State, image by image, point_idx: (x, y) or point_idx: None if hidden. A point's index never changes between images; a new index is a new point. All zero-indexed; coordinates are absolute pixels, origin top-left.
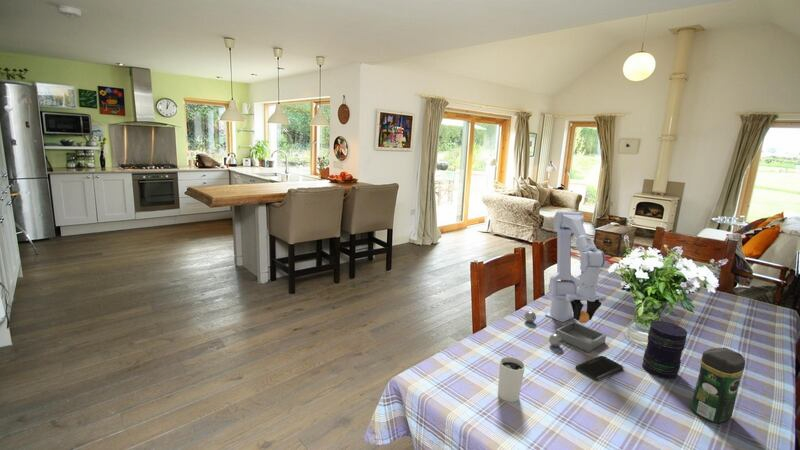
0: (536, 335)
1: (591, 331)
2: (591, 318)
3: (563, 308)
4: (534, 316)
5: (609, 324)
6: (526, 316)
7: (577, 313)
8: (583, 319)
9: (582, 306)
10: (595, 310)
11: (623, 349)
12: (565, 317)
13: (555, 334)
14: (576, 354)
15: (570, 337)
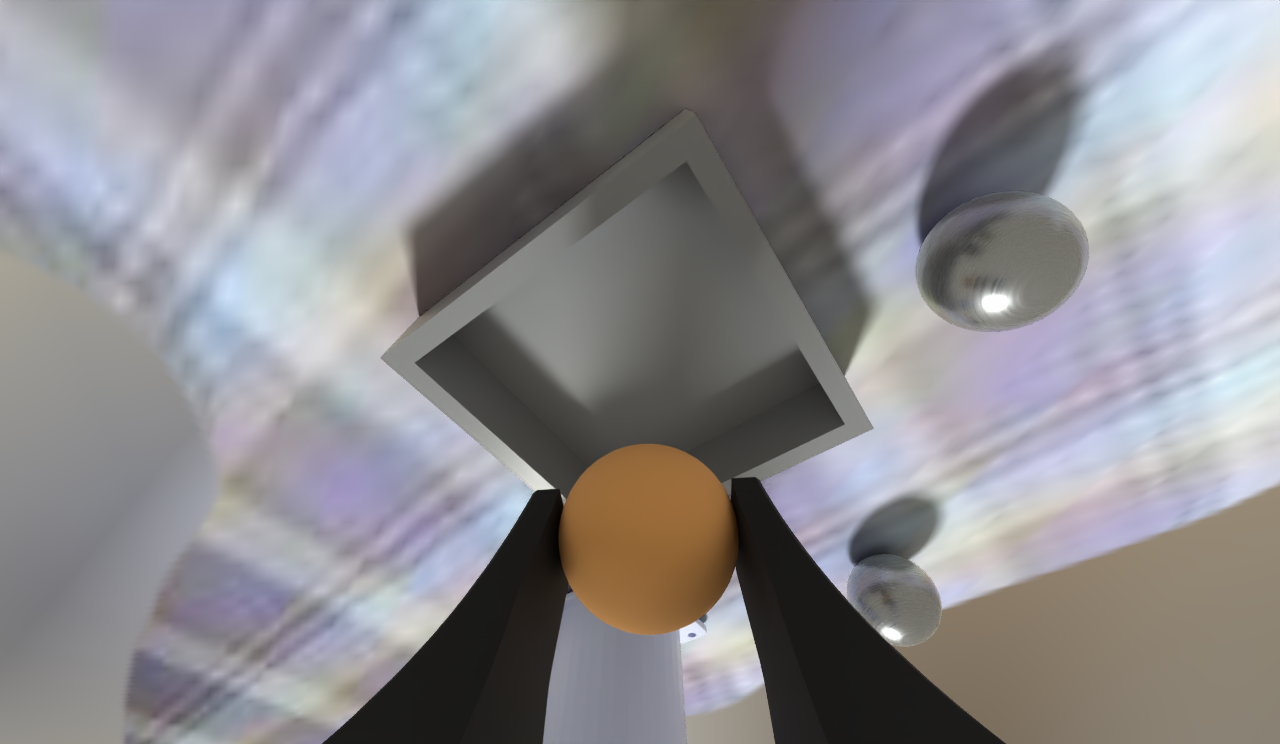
0: (974, 409)
1: (503, 427)
2: (530, 505)
3: (624, 678)
4: (892, 597)
5: (293, 552)
6: (939, 599)
7: (817, 565)
8: (684, 473)
9: (843, 742)
10: (450, 634)
11: (265, 198)
12: None
13: (1047, 297)
14: (844, 71)
15: (804, 308)
